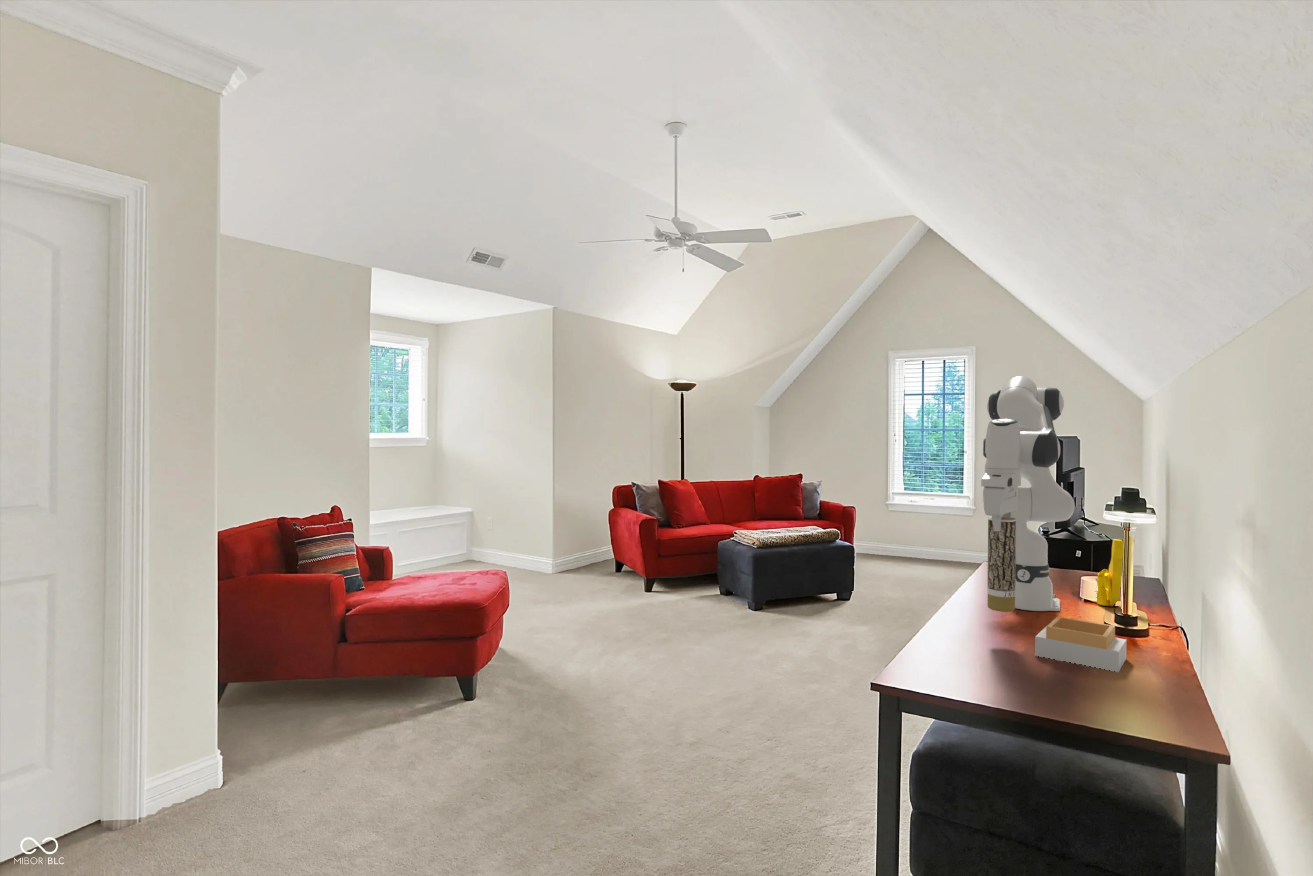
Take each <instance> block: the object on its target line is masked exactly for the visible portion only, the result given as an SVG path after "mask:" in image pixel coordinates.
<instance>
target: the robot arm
mask: <svg viewBox="0 0 1313 876" xmlns="http://www.w3.org/2000/svg"><path fill="white" fill-rule="evenodd" d="M1064 401H1065V400H1064V397H1063V395H1062V393H1061V391H1060V390H1059V389H1058V388H1057V387H1056V388H1055V387H1050V386H1046V387H1037V384H1036V383H1035V382H1034V381H1033V379H1031V378H1029V377H1026V376H1025V375H1024V376H1023V375H1019V376H1013V377H1011V378H1010V379H1008V380H1007V381H1006V382H1005V383H1004V385H1003V387H1002V389H999V390H997V391H995V392H992V394H990V395H989V397H988V401H987V404H986V410H987V413H988V416H989V418H990V421H989V422H988V424H987V429H986V433H985V434H986V435H985V438H984V439H983V443H982V445H983V447H982V454H983V457H984V458H985V459H986V462H985V464H984V473H983V474H984V475H983V476H982V478H981V480H980V484H981V485H980V486H981V487H983V490H982V492H983V493H982V497H983V499H982V501H983V510H984V514H985V516H988V517H992V522H993V530H994V531H998V532H999V531H1001V530H1002V525H1001V518H1002V517H1011V518H1015V520H1016V572H1015V609H1018V610H1019V609H1020V610H1023V611H1032V612H1048V611H1049V612H1061V599H1060V598H1057V597H1056V594H1053V592H1054V591H1053V589H1054V587H1053V586H1054V585H1053V582H1052V580H1051V579H1050V577H1049V576H1050V565H1049V563H1048V561H1049V560H1048V556H1049V555H1048V554H1049V553H1048V550H1049V549H1048V548H1049V547H1048V546H1049V544H1048V542H1047V540H1046V538H1045V537H1044V536H1042V535H1041V534H1039V533H1038V532H1035V531H1034V530H1031V529H1030V528H1029V527H1028V525H1027V524H1028V522H1038V523H1039V522H1040V523H1041V522H1042V523H1056V522H1057V523H1058V522H1064V521H1065V522H1066V521H1069V519H1071V517H1072V516H1073V515H1074V512H1075V509H1076V505H1075V500H1074V498H1073V497H1072V495H1071V493H1070V492H1068V491H1067V490H1065V489H1064V488H1062V487H1061V486H1060V485H1059V484H1058V483H1057V482H1056V480H1055V478H1054V476H1052V475H1053V474H1052V473H1051V470H1050V467H1051V466H1053V465H1055V463H1057V462H1058V461H1059V458H1060V456H1061V444H1060V441H1059V438H1058V436H1057V434H1056V431H1055V427H1054V421H1056V420H1057V419H1058V418H1059V417H1060V416H1061V415H1062V412H1063V409H1064V405H1065V402H1064ZM1022 478H1023V479H1026V480H1027V481H1028V482H1029V483H1030V487H1021V484H1022V483H1021V482H1022Z"/></svg>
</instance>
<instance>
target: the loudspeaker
mask: <svg viewBox="0 0 1313 876" xmlns="http://www.w3.org/2000/svg"><path fill="white" fill-rule="evenodd" d="M1034 637H1035V638H1034V657H1038V656H1039V657H1038V658H1043V657H1045V658H1044V659H1048V658H1050V659H1049V660H1053V659H1055V660H1054V661H1058V662H1063V661H1066V662H1065V663H1069V662H1071V663H1070V664H1074V663H1076V665H1079V664H1082V665H1081V666H1084V665H1086V666H1085V667H1089V666H1091V667H1090V668H1094V667H1096V668H1095V669H1099V668H1101V669H1100V670H1104V669H1105V670H1106V671H1109V670H1110V672H1114V671H1115V672H1114V673H1119V672H1120V670H1121V669H1122V667H1123V665H1124V664H1125V662H1126V661H1127V640H1128V639H1126V638H1125V639H1124V638H1119V637H1116V625H1112V624H1107V623H1106V624H1105V623H1101V622H1094V621H1088V620H1081V619H1075V618H1069V617H1064V616H1063V617H1062V616H1056V617H1055V618H1054V619H1053V620H1052V621H1050V623H1049V624H1047V625H1046V626H1045V627H1043V628H1042V630H1040V632H1038V634H1036V635H1035V636H1034Z"/></svg>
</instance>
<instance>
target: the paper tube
mask: <svg viewBox="0 0 1313 876" xmlns="http://www.w3.org/2000/svg"><path fill="white" fill-rule="evenodd" d="M987 524H988V525H987V607H988V609H989V610H992V611H995V612H1000V613H1002V612H1003V613H1011V612H1014V611H1015V610H1016V608H1015V572H1016V520H1015V518H1011V517H1002V518H1001V525H1002V530H1001V531H999V532H998V531H994V530H993V522H992V516H988V519H987Z"/></svg>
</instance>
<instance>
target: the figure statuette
mask: <svg viewBox="0 0 1313 876" xmlns="http://www.w3.org/2000/svg"><path fill="white" fill-rule="evenodd" d="M1123 544H1124V541H1123V540H1122V539H1115V538H1114V539H1112V543H1111V558H1110V562H1109V565H1108V569H1106V568H1104V569H1102V570H1101V571H1099V572H1098V573H1097V577H1096V578H1095V581H1096V584H1097V585H1096V587H1097V586H1098V591H1097V590H1096V594H1097V597H1096V596H1095V599H1096V598H1097V600H1096V604H1097V605H1100V606H1105V607H1113V605H1114V604H1115V603H1116V602H1117V601H1121V598H1120V587H1121V576H1122V577H1123V558H1124V557H1123V556H1124V549H1123Z"/></svg>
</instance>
